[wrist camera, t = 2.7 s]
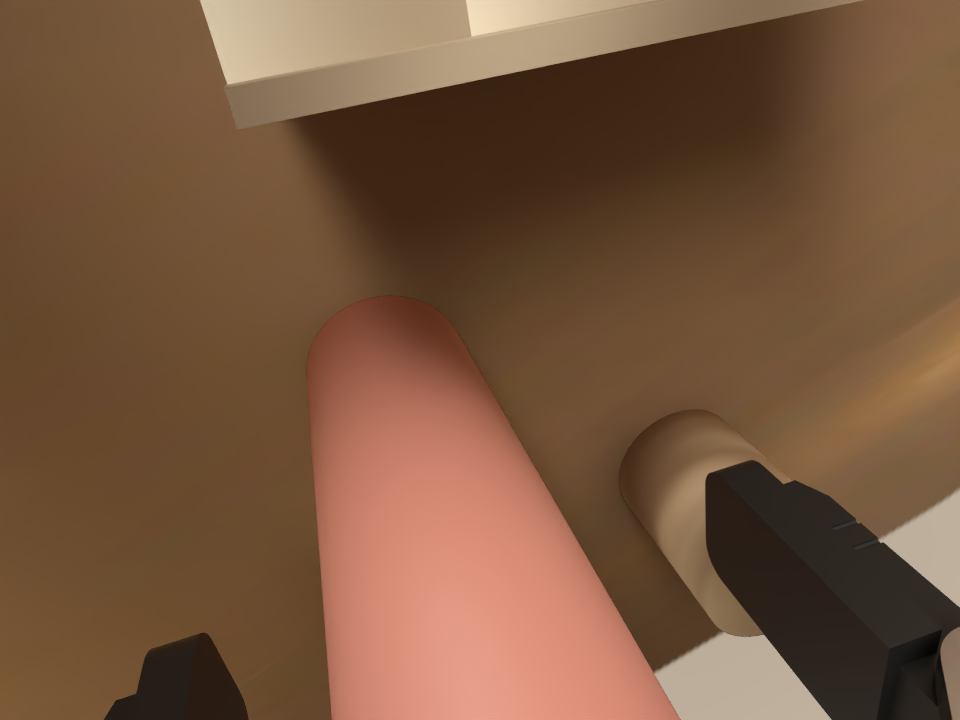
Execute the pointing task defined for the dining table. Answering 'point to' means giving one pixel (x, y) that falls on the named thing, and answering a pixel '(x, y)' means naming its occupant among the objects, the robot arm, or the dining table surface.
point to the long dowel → (449, 543)
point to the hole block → (434, 43)
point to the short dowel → (688, 500)
